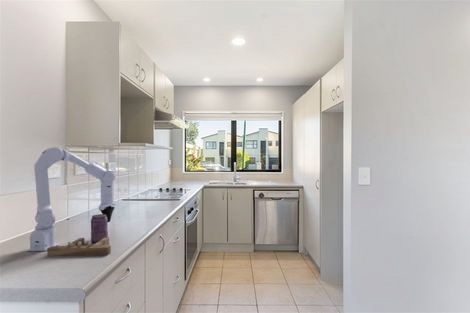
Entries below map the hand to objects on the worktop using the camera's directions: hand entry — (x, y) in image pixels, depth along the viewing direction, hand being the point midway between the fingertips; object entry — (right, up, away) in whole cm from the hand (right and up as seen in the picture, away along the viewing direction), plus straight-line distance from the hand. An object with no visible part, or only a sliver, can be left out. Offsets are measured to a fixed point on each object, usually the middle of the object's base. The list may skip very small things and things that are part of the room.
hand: (107, 221), depth 145 cm
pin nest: (0, -7, -21) cm, 22 cm away
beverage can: (0, -7, -9) cm, 11 cm away
